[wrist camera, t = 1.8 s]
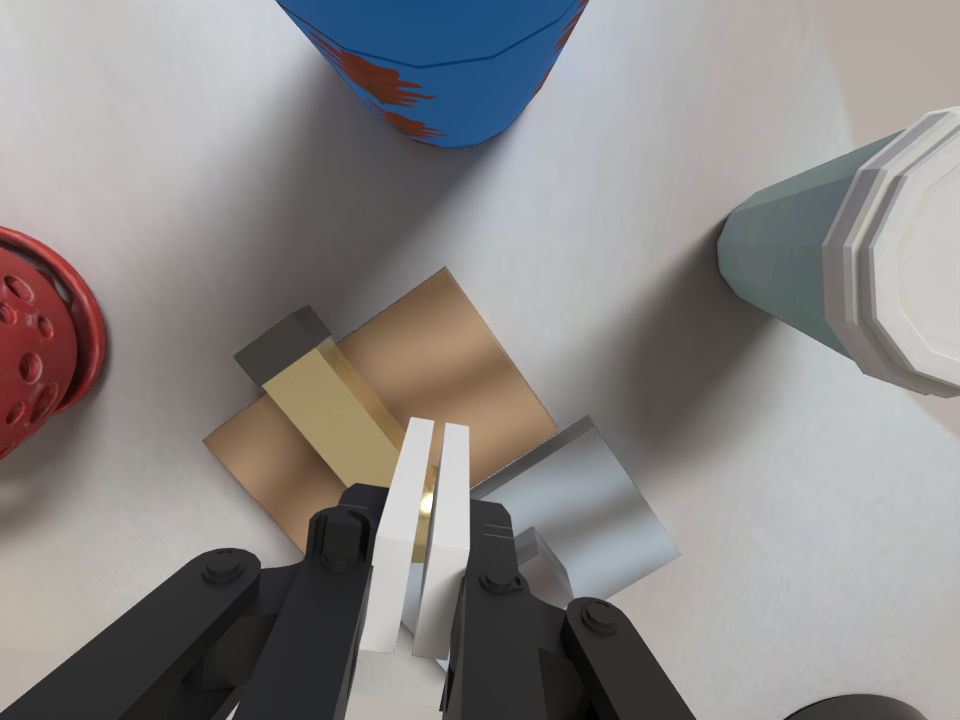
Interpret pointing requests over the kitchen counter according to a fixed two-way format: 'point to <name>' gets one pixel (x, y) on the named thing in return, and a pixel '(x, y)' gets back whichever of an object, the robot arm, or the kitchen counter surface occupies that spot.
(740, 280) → the disposable coffee cup
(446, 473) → the robot arm
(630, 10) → the kitchen counter surface
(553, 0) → the thermos
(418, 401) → the door and jamb
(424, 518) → the swing bar
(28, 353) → the plant pot
